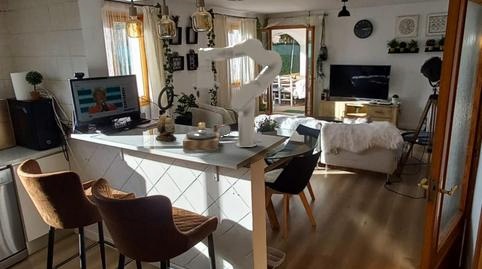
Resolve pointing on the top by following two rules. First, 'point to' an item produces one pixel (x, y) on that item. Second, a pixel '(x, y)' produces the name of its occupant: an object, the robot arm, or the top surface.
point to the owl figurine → (165, 129)
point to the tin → (222, 129)
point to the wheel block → (200, 144)
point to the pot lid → (201, 133)
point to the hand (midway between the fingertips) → (206, 97)
